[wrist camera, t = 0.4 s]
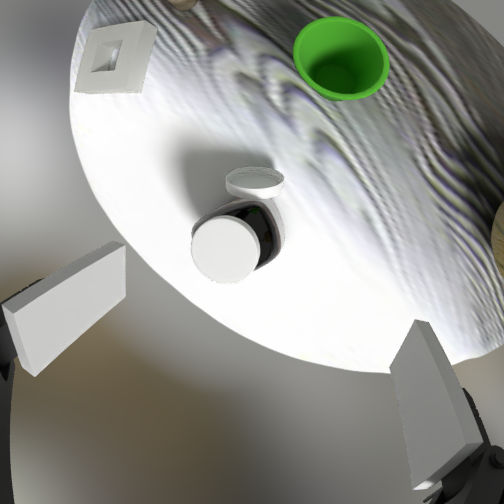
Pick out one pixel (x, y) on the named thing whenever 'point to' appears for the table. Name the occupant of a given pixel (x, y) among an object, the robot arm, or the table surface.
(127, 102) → the table surface
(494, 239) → the cantaloupe
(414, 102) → the table surface
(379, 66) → the cup
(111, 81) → the socket block
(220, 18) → the table surface
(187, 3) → the peg
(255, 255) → the spread jar
